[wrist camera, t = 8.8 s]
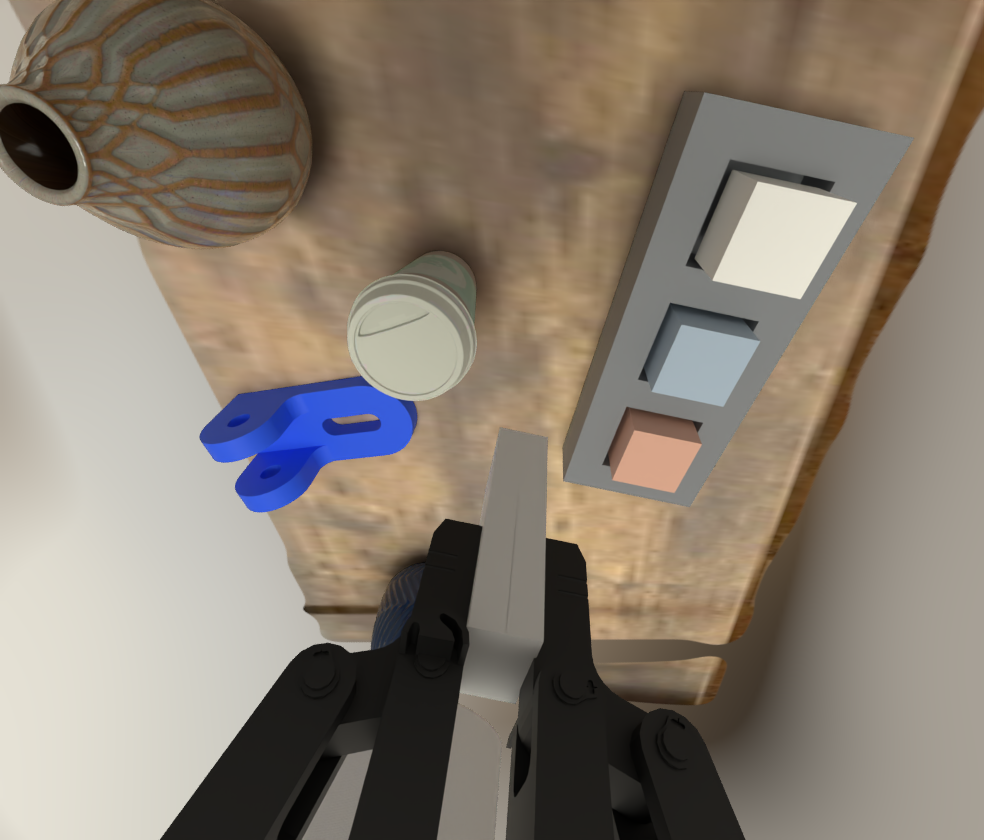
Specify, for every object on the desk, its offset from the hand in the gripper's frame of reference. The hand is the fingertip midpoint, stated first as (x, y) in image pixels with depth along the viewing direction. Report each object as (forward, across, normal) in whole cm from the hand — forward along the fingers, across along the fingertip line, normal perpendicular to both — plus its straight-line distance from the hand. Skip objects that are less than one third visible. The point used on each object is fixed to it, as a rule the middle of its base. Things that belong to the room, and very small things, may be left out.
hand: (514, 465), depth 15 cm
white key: (+22, +13, +5) cm, 26 cm away
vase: (+27, -22, +4) cm, 35 cm away
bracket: (+27, -17, -21) cm, 38 cm away
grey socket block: (+26, +13, -4) cm, 30 cm away
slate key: (+23, +13, -4) cm, 27 cm away
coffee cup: (+27, -7, -5) cm, 28 cm away
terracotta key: (+23, +13, -13) cm, 30 cm away
